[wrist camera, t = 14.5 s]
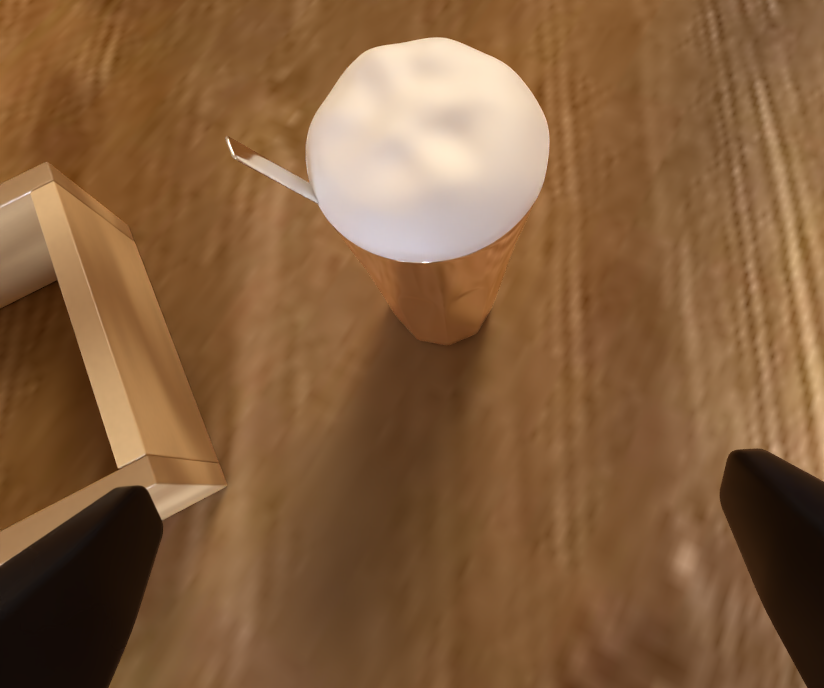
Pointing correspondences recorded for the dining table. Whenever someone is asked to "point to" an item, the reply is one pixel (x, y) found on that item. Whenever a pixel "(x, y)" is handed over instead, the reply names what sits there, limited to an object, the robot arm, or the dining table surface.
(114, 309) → the crate
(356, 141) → the milkshake
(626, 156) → the dining table surface
